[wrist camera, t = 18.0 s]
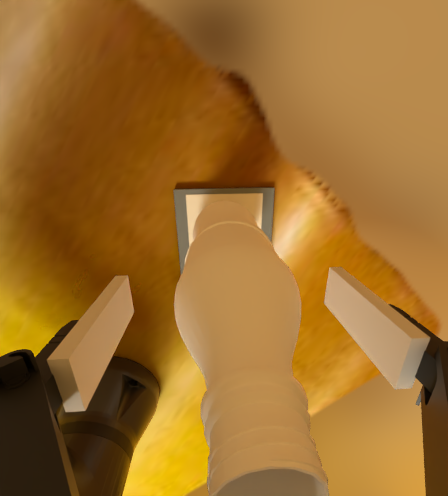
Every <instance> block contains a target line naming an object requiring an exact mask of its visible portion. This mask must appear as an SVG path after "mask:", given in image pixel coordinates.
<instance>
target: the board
mask: <svg viewBox="0 0 448 496" xmlns="http://www.w3.org/2000/svg"><path fill="white" fill-rule="evenodd" d="M274 190H275V188H274V187H253V188H198V189H174V201H175V213H176V224H177V235H178V247H179V258H180V269H181V275H182V273H183V270H184V266H185V257H186V254H187V251H188V249H189V247H190V245H191V243H192V242H193V228H194V224H195V221H196V219H197V217H198V215H199V214H200V212H201V211H202V210H203V209H204V208H205V207H207V206H208V205H210V204H212V203H214V202H217V201H223V200H227V201H232V202H236V203H239V204H241V205H242V206H244V207H245V208H246V209H247V210H248V211H250V213H251V214H252V215H253V217H254V219H255V221H256V223H257V225H258V227H259V228H260V229H261V230H262V231H263V232H264V233H265V234H266V235H267V237H268V238H269V240H270V241H271V237H272V221H273V206H274Z"/></svg>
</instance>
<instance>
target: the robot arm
mask: <svg viewBox="0 0 448 496" xmlns="http://www.w3.org/2000/svg"><path fill="white" fill-rule="evenodd" d="M324 304H325V305H326V306H327V307H328V308H329V310H330V311H331V312H332V313H333V314H334V316H335V317H336V318H337V319H338V321H339V322H340V323H341V324H342V325H343V327H344V328H345V329H346V330H347V332H348V333H349V334H350V335H351V336H352V338H353V339H354V340H355V341H356V343H357V344H358V345H359V346H360V347H361V349H362V350H363V351H364V352H365V353H366V355H367V356H368V357H369V358H370V360H371V361H372V362H373V363H374V364H375V366H376V367H377V368H378V369H379V371H380V372H381V373H382V374H383V375H384V377H385V378H386V379H387V380H388V381H389V383H390V384H391V385H392V386H393V388H394V389H407V388H412V386H413V383H414V381H415V378H417V379H418V380H419V381H420V382H421V383H422V384H423V386H422V389H421V391H420V394H419V397H418V399H417V402H416V405H419V404H420V402H421V409H422V428H423V448H424V468H425V487H426V496H448V342H446V341H442V340H441V339H440V338H438V337H437V336H436V335H434V334H433V333H432V332H430V331H429V330H428V329H427V328H425V327H424V326H423V325H421V324H420V323H418V322H417V321H416V320H415V319H413V318H411V317H410V316H409V315H408V314H407V313H406V312H404V311H403V310H401V309H399V308H397V307H395V306H393V305H391V304H387V303H386V302H385V301H383V300H382V299H381V298H380V297H378V296H377V295H376V294H374V293H373V292H372V291H371V290H369V289H368V288H367V287H366V286H364V285H363V284H362V283H361V282H359V281H358V280H357V279H355V278H354V277H353V276H352V275H350V274H349V273H348V272H347V271H345V270H344V269H343V268H342V267H330V269H329V275H328V281H327V288H326V294H325V300H324ZM133 314H134V307H133V302H132V296H131V290H130V285H129V279H128V275H125V276H115V277H114V278H113V280H112V281H111V282H110V283H109V284H108V286H107V287H106V288H105V289H104V291H103V292H102V293H101V294H100V295H99V297H98V298H97V299H96V300H95V302H94V303H93V304H92V305H91V306H90V308H89V309H88V310H87V311H86V313H85V314H84V315H83V316H82V317H81V319H80V320H73V321H71V322H69V323H68V324H66V325H65V326H63V327H62V328H61V329H60V330H59V331H58V332H57V333H56V335H55V337H53V338H52V339H51V340H50V341H49V344H47V345H46V346H45V347H44V348H43V349H42V350H41V351H40V353H39V354H38V355H37V356H36V357H34V354H33V353H32V351H31V350H27V349H22V350H16V351H13V352H10V353H7V354H5V355H3V356H1V357H0V496H122V494H123V491H124V487H125V483H126V479H127V475H128V471H129V467H130V463H131V460H132V456H133V452H134V449H135V447H136V445H137V444H138V442H139V440H140V438H141V437H142V435H143V433H144V431H145V430H146V428H147V426H148V424H149V423H150V421H151V419H152V417H153V416H154V413H155V411H156V408H157V404H158V399H159V394H160V391H159V385H158V383H157V381H156V379H155V377H154V376H153V375H152V374H151V373H150V372H149V371H148V370H147V369H146V368H144V367H143V366H141V365H140V364H138V363H136V362H133V361H131V360H128V359H124V358H119V357H112V356H113V354H114V352H115V350H116V348H117V346H118V344H119V342H120V340H121V338H122V336H123V334H124V332H125V330H126V328H127V326H128V324H129V322H130V320H131V318H132V316H133Z"/></svg>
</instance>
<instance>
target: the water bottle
mask: <svg viewBox="0 0 448 496" xmlns="http://www.w3.org/2000/svg"><path fill="white" fill-rule="evenodd" d="M174 309H175V318H176V323H177V326H178V329H179V332H180V335H181V337H182V339H183V341H184V343H185V345H186V347H187V349H188V350H189V352H190V354H191V356H192V357H193V359H194V360H195V362H196V364H197V365H198V367H199V368H200V370H201V372H202V374H203V375H204V378H205V382H206V387H207V391H206V392H205V394H204V396H203V399H202V403H201V418H202V422H203V425H204V426H205V427H204V435H205V438H206V441H207V443H208V446H209V448H210V455H209V457H208V474H209V475H208V477H207V485H208V492H209V496H329V493H328V486H327V485H328V479H327V476H326V474H325V472H324V470H323V469H322V464H321V461H320V458H319V455H318V452H317V451H316V447H315V442H314V439H313V438H312V437H311V436H310V433H309V431H310V416H309V413H308V411H307V410H308V400H307V397H306V393H305V391H304V389H303V387H302V386H301V384H300V383H299V382H298V381H297V380H296V379H295V378H294V377H293V372H292V358H293V353H294V350H295V346H296V342H297V338H298V332H299V326H300V321H301V299H300V294H299V289H298V285H297V283H296V280H295V278H294V276H293V274H292V272H291V271H290V269H289V267H288V266H287V265H286V264H285V263H284V261H283V260H282V259H281V258H279V256H278V255H277V253H276V252H275V250H274V248H273V245H272V243H271V241H270V240H269V238H268V237H267V235H266V234H265V233H264V232H263V231H262V230H261V229H260V228H259V227H258V225H257V223H256V221H255V219H254V217H253V215H252V214H251V213H250V211H248V210H247V209H246V208H245V207H244V206H242V205H241V204H239V203H236V202H232V201H227V200H223V201H217V202H214V203H212V204H210V205H208V206H207V207H205V208H204V209H203V210H202V211H201V212H200V214H199V215H198V217H197V219H196V221H195V224H194V228H193V242H192V243H191V245H190V247H189V249H188V251H187V254H186V257H185V266H184V270H183V273H182V275H181V277H180V279H179V281H178V283H177V287H176V292H175V300H174Z"/></svg>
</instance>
